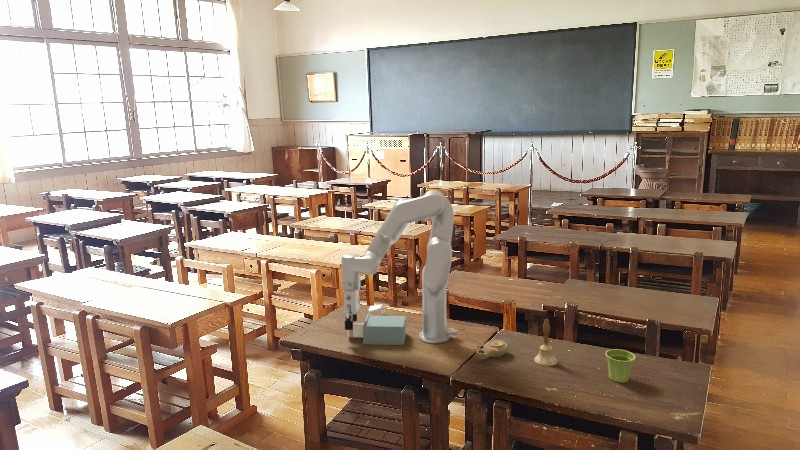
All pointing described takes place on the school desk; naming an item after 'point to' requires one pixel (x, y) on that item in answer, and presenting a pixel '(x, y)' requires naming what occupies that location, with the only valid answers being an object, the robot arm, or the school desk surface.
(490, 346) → the oil lamp
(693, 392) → the school desk surface
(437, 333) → the robot arm
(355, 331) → the pink-banded cream bar
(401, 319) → the block
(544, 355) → the hand bell
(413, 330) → the school desk surface
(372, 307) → the white scroll-footed stand
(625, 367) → the plant pot
